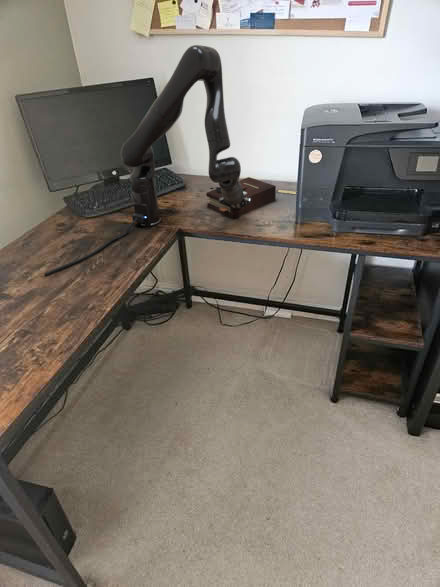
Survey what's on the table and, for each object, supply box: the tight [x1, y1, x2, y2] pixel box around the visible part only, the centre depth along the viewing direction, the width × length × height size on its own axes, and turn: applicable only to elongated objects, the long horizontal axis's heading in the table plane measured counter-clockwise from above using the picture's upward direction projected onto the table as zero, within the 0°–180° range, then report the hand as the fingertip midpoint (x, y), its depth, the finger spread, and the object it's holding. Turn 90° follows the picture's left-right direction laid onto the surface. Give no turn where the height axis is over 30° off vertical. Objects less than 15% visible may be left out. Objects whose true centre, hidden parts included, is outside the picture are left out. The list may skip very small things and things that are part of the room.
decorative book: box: [205, 176, 277, 219], centre depth 174 cm, size 19×8×30 cm
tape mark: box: [277, 189, 297, 195], centre depth 184 cm, size 2×9×1 cm, turn 64°
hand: (238, 208), depth 163 cm, fingers closed
